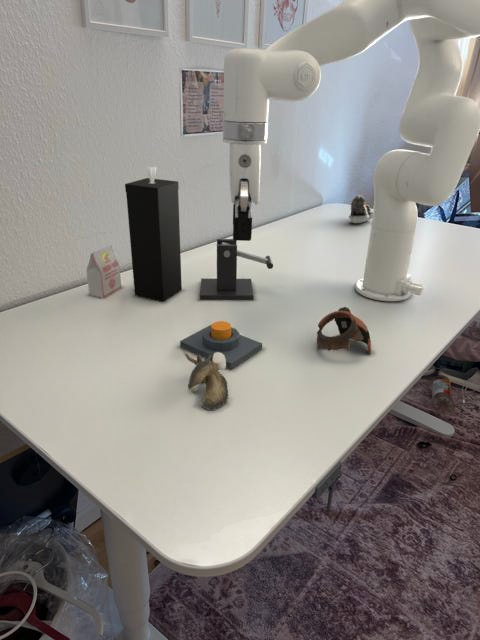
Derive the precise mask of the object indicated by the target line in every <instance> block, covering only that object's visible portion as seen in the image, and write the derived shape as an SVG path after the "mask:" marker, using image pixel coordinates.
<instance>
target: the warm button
mask: <svg viewBox="0 0 480 640" xmlns="http://www.w3.org/2000/svg"><path fill="white" fill-rule="evenodd" d="M211 324H212V325H211ZM211 324H210V325H211V336H212V338H214V339H220V340H224V339H228V338H230V337H231V327H232V324H231V323H230V322H228V321H224V320H218V321H214V322H213V323H211Z"/></svg>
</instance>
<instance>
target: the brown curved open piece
mask: <svg viewBox="0 0 480 640" xmlns="http://www.w3.org/2000/svg"><path fill="white" fill-rule="evenodd" d="M332 321H334V323H335V324H336V326H337V329H338V332H339V335H336V336H328V335H325V334H323V332H322V331H323V329H324V328H325V326H327V325H328V324H329V323H331V322H332ZM317 327H318V330H317V331H316V345H317V347H318V348H319V349H323V350H325V351H338V350H346V351H351V349H350V348H351V347H350V340H352V341H354V342H360V343H363V344H365V345H366V348H367V353H368V355H371V354H372V340H371V336H370V331H369V329H368V327H367V325H366V323H365V322H364V321H363V320H362V319H360V318H359V317H357V316H355V315H354V314H353V313H352V312H351V310H350V308H349V307H347V306H343V307H340V308H339V309H338V310H337V311H333V312H330V313H328V314H327V315H325V316H324V317H322V319H321V320H320V321H319V322H318V323H317Z"/></svg>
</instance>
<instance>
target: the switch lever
mask: <svg viewBox="0 0 480 640" xmlns="http://www.w3.org/2000/svg"><path fill="white" fill-rule="evenodd" d="M222 244H228V243H224V242H222ZM230 245H231V244H230ZM237 257H239V258H242V259H246V260H250V261H253V262H257V263H260V264H264V265H266V268H267V269H268V270H272V269H273V268H274V263H273V259H272V257H271V255H266V256H265V257H263V256H259V255H256V254H252V253H248V252H246V251H241V250H239V249H237Z"/></svg>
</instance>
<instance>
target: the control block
mask: <svg viewBox="0 0 480 640" xmlns="http://www.w3.org/2000/svg"><path fill="white" fill-rule="evenodd" d="M212 324H213V323H211V324H210V325H208V326H206V327H204V328H202V329H200V330H198V331H196V332H194V333H192V334H190V335H189V336H187V337H185V338H182V339H181V340H179V346H180V347H179V348H181V349H184V350H186V351H188V352H191V353H193V354H195V355H197V356H198V355H200V357H201V358H204V359H205V360H206V359H208V357H209V355H211V358H210V362H212V358H213V354H214V353H215V352H220V353H222V354H223V355H225V359H226V368H227V369H228V370H233V369H235V368H236V367H237V366H239V365H241V364H242V363H244V362H245V361H247V360H248V359H249V358H251V357H253V356H254V355H256V354H258V353H259V352H260V351H262V350H263V343H262V342H260V341H258V340H255V339H253V338H249V337H247V336H245V335H243V334H240V331H238V329H237V328H235V327H232V326H231V337H230V338H228V339H224V340H220V339H214V338H212V336H211V325H212ZM226 368H225V369H226Z"/></svg>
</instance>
